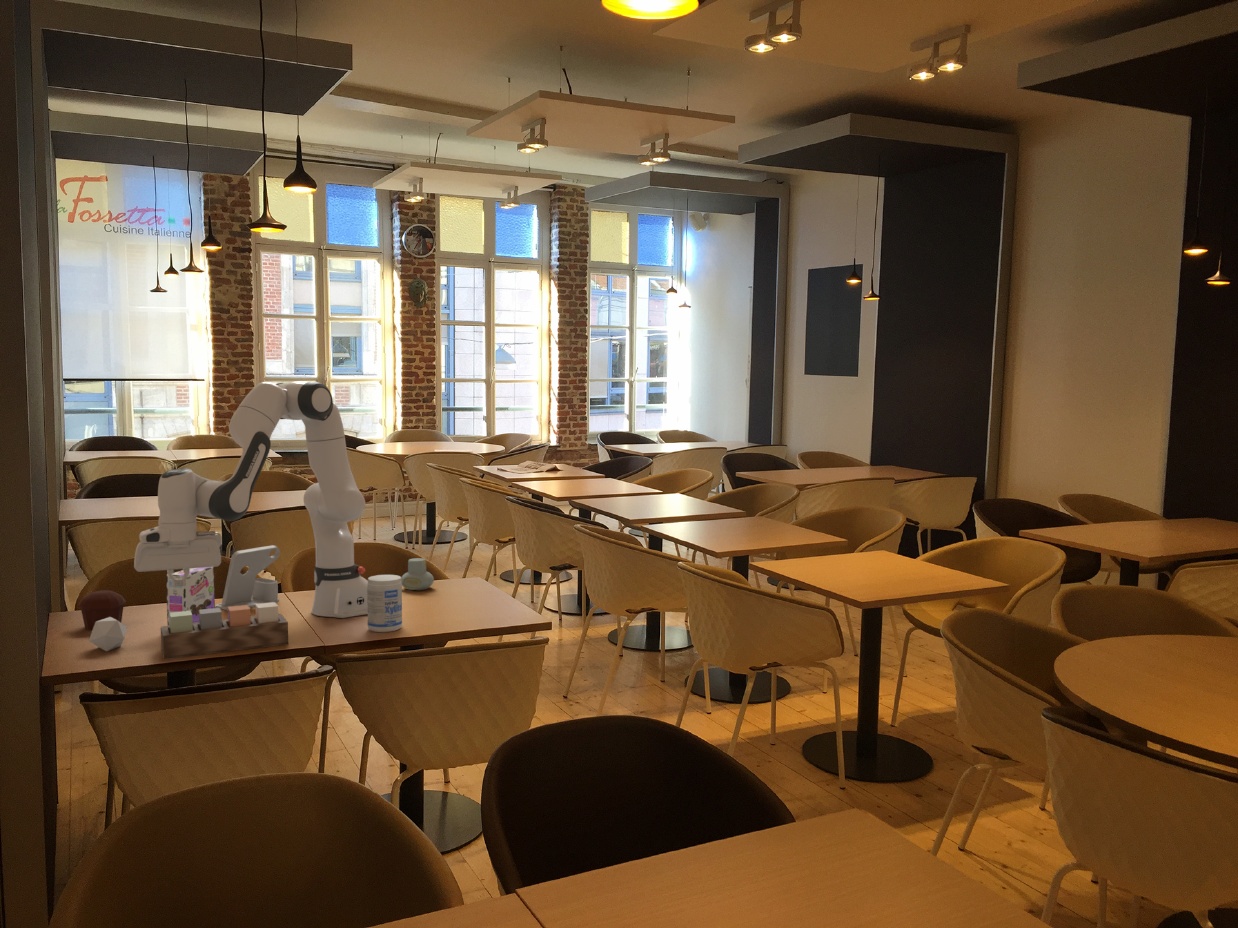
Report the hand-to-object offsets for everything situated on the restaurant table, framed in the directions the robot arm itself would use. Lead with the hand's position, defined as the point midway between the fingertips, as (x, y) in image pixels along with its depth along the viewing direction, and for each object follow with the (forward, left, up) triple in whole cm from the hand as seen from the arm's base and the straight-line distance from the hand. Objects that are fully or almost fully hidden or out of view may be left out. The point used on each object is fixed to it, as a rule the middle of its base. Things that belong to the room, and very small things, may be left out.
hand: (178, 586), depth 246 cm
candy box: (-5, -25, -18) cm, 31 cm away
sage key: (0, 0, -12) cm, 12 cm away
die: (+16, -12, -18) cm, 27 cm away
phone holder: (-23, -47, -18) cm, 55 cm away
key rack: (-11, 0, -17) cm, 20 cm away
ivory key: (-21, 0, -12) cm, 25 cm away
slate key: (-7, 0, -12) cm, 14 cm away
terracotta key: (-14, 0, -12) cm, 19 cm away
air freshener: (-76, -44, -18) cm, 89 cm away
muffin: (+17, -37, -18) cm, 44 cm away
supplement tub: (-53, +1, -18) cm, 56 cm away
